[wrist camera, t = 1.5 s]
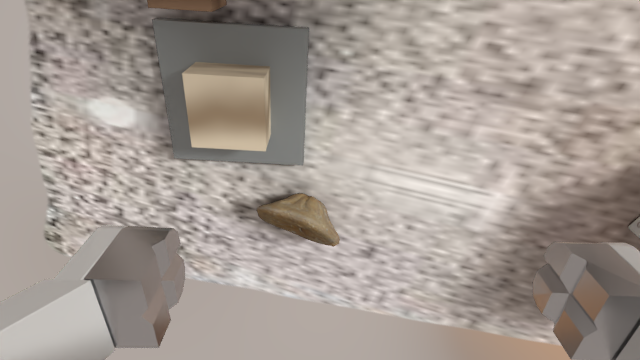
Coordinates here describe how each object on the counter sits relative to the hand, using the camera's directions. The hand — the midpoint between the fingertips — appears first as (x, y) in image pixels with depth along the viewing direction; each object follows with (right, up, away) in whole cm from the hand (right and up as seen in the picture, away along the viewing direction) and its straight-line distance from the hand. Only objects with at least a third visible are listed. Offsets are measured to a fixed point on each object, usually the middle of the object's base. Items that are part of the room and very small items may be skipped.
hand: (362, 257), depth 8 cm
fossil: (-3, -2, +37) cm, 37 cm away
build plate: (-9, +10, +30) cm, 33 cm away
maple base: (-9, +10, +29) cm, 32 cm away
